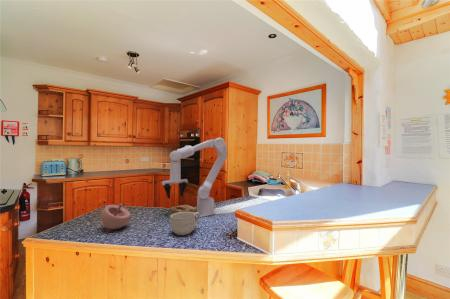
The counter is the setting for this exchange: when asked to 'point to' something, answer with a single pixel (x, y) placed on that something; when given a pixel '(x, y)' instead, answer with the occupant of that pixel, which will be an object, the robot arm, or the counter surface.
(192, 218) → the teacup
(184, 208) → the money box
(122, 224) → the mortar and pestle
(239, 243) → the counter surface
